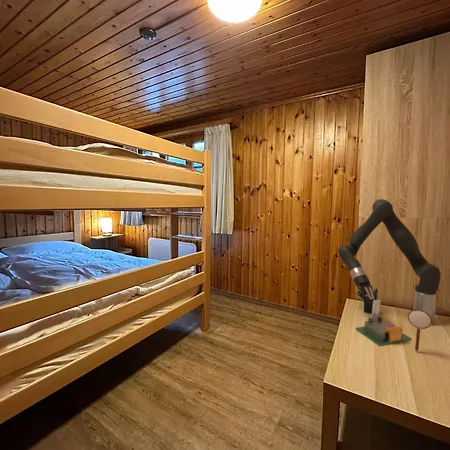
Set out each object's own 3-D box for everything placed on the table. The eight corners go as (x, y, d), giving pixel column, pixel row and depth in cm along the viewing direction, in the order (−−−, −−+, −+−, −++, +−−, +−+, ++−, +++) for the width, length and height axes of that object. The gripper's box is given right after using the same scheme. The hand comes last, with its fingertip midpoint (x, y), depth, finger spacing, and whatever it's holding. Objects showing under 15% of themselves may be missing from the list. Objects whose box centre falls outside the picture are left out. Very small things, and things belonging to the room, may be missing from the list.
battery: (377, 313, 152) (378, 295, 150) (376, 315, 149) (377, 297, 148) (364, 309, 156) (365, 292, 155) (362, 311, 154) (364, 293, 152)
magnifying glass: (428, 354, 113) (433, 312, 110) (428, 356, 112) (432, 313, 109) (405, 347, 118) (408, 306, 116) (404, 348, 117) (408, 307, 115)
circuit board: (385, 324, 138) (386, 311, 137) (411, 340, 124) (412, 325, 123) (355, 329, 134) (356, 316, 133) (379, 346, 119) (380, 330, 118)
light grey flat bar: (378, 319, 134) (377, 318, 134) (380, 300, 132) (379, 299, 132) (372, 320, 133) (371, 319, 133) (374, 300, 131) (373, 300, 131)
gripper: (353, 274, 139) (368, 306, 128) (373, 273, 141) (390, 303, 131) (345, 280, 144) (359, 311, 134) (365, 279, 147) (380, 308, 137)
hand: (374, 307), depth 133 cm, fingers closed
